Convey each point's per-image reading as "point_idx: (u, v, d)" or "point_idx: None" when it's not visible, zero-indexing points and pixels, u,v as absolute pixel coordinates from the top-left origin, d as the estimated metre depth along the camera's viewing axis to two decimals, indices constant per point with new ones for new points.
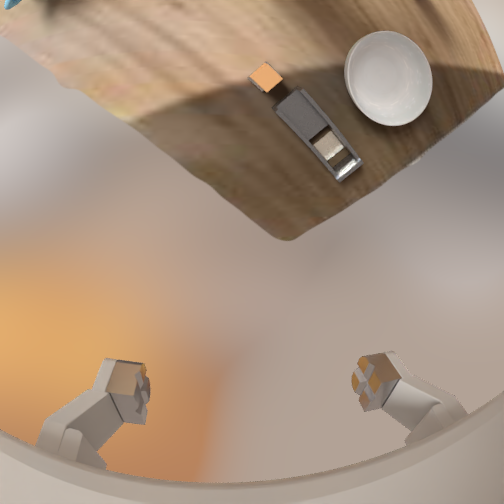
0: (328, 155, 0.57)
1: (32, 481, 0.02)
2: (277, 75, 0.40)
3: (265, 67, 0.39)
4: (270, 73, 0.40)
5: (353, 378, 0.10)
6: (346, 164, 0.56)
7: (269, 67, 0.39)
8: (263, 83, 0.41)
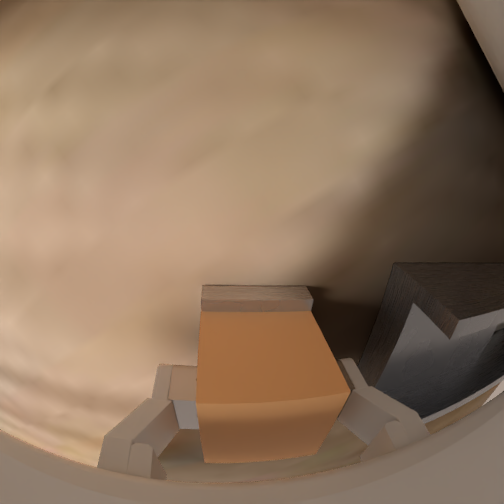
0: None
1: (32, 481, 0.02)
2: (309, 404, 0.06)
3: (210, 420, 0.06)
4: (261, 422, 0.06)
5: None
6: None
7: (228, 409, 0.06)
8: (274, 452, 0.07)
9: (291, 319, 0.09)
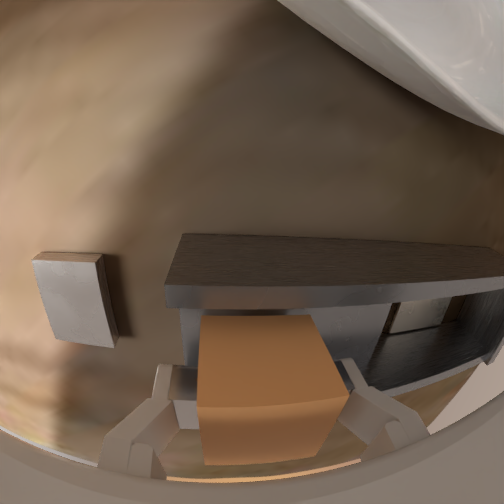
0: (438, 312, 0.16)
1: (32, 481, 0.02)
2: (308, 407, 0.06)
3: (211, 424, 0.06)
4: (261, 425, 0.06)
5: None
6: (491, 303, 0.13)
7: (228, 413, 0.06)
8: (274, 454, 0.07)
9: (290, 323, 0.09)
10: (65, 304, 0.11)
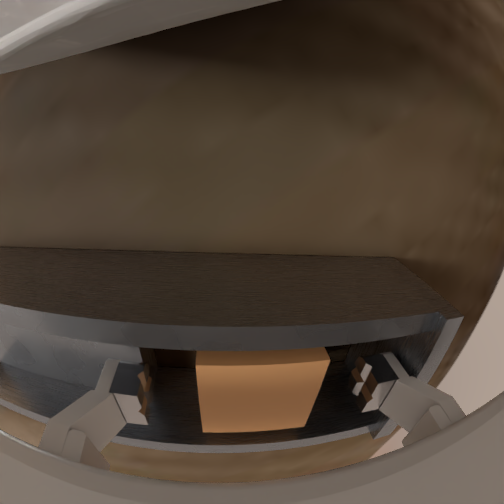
0: None
1: (32, 481, 0.02)
2: (293, 369, 0.08)
3: (208, 383, 0.07)
4: (252, 386, 0.08)
5: (350, 379, 0.10)
6: (384, 350, 0.10)
7: (223, 372, 0.07)
8: (265, 421, 0.09)
9: None
10: None
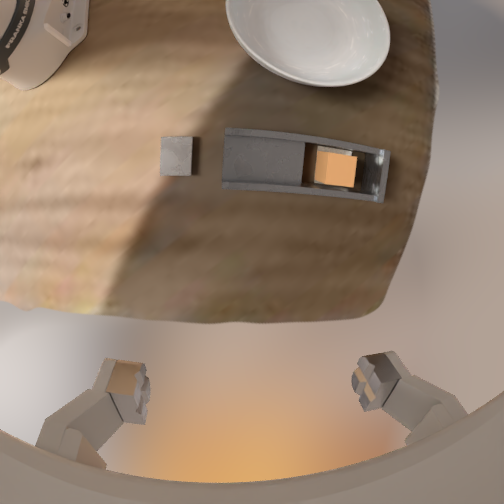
0: None
1: (32, 481, 0.02)
2: (349, 157, 0.31)
3: (330, 159, 0.31)
4: (340, 162, 0.31)
5: (353, 378, 0.10)
6: (372, 171, 0.34)
7: (334, 155, 0.31)
8: (342, 179, 0.32)
9: None
10: (173, 155, 0.32)
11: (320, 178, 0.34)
